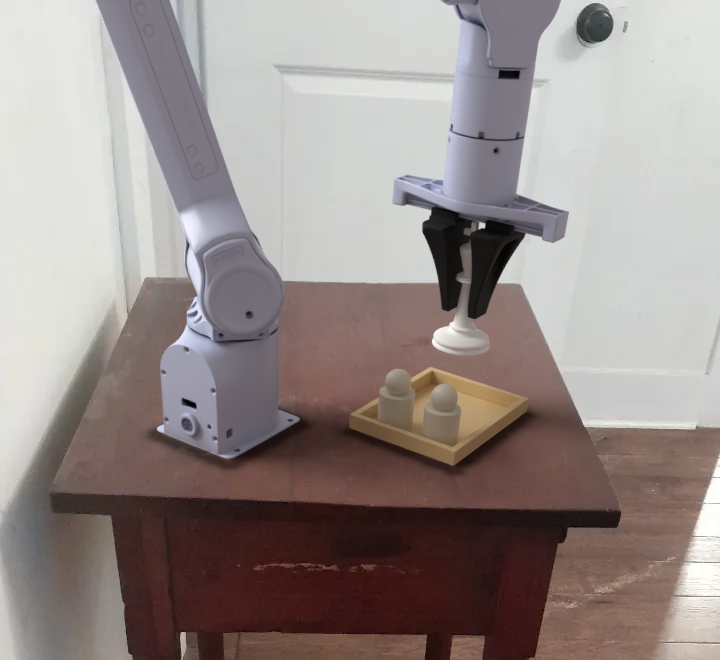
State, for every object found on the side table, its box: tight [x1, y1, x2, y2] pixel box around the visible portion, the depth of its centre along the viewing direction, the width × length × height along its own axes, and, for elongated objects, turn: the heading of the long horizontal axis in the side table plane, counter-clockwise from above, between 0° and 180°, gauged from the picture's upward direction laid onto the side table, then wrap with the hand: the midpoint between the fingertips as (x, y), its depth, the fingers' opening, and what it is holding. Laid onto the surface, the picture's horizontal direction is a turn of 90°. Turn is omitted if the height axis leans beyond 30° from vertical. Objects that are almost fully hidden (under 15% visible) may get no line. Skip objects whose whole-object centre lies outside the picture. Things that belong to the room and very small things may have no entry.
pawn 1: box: [377, 368, 415, 432], centre depth 82 cm, size 3×3×5 cm
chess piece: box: [431, 221, 490, 357], centre depth 81 cm, size 5×5×10 cm
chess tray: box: [348, 366, 530, 466], centre depth 85 cm, size 13×10×2 cm
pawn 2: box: [421, 384, 461, 447], centre depth 80 cm, size 3×3×5 cm
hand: (464, 311), depth 82 cm, fingers closed on chess piece
